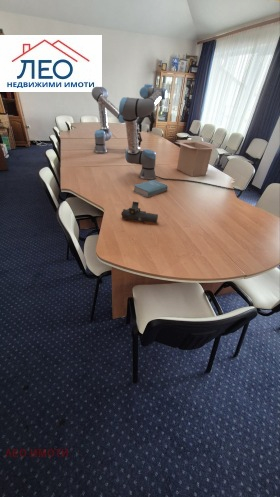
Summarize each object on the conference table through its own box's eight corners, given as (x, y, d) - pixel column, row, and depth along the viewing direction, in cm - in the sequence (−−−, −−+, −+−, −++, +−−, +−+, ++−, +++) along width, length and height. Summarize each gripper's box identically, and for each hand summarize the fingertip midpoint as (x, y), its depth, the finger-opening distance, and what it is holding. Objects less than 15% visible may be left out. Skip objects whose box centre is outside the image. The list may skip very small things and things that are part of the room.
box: (218, 176, 220) (226, 147, 203) (190, 180, 205) (196, 149, 189) (191, 164, 250) (196, 138, 234) (165, 167, 235) (168, 139, 219)
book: (152, 185, 190) (153, 179, 187) (167, 191, 181) (167, 185, 178) (133, 191, 176) (133, 185, 173) (147, 198, 167) (148, 191, 164)
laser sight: (155, 227, 133) (157, 212, 127) (119, 221, 136) (119, 206, 130) (157, 219, 141) (159, 205, 135) (123, 214, 144) (124, 200, 138)
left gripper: (141, 127, 263) (140, 146, 276) (124, 128, 250) (124, 148, 262) (145, 128, 259) (144, 147, 271) (129, 129, 245) (128, 149, 258)
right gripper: (154, 105, 209) (152, 130, 222) (134, 104, 196) (133, 131, 208) (159, 106, 205) (157, 131, 218) (139, 105, 191) (138, 133, 204)
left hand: (134, 148), depth 267 cm, fingers open, 13 cm apart
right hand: (145, 131), depth 213 cm, fingers open, 13 cm apart
